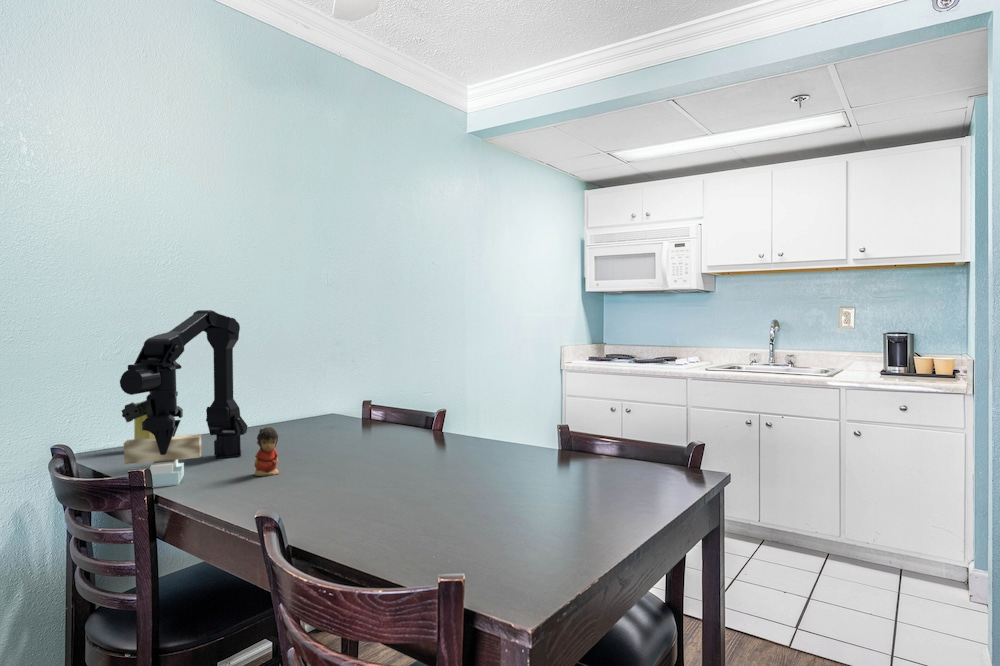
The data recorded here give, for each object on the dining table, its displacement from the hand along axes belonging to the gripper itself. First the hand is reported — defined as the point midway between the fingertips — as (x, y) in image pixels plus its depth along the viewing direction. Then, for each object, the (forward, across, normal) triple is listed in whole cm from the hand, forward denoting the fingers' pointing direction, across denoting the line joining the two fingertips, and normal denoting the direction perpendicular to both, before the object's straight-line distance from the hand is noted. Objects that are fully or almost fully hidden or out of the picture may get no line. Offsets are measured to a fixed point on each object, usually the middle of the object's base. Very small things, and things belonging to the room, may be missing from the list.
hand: (164, 452), depth 144 cm
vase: (+7, -41, -11) cm, 43 cm away
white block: (+7, 0, 0) cm, 7 cm away
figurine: (+7, +3, +23) cm, 24 cm away
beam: (+2, 0, 0) cm, 2 cm away
